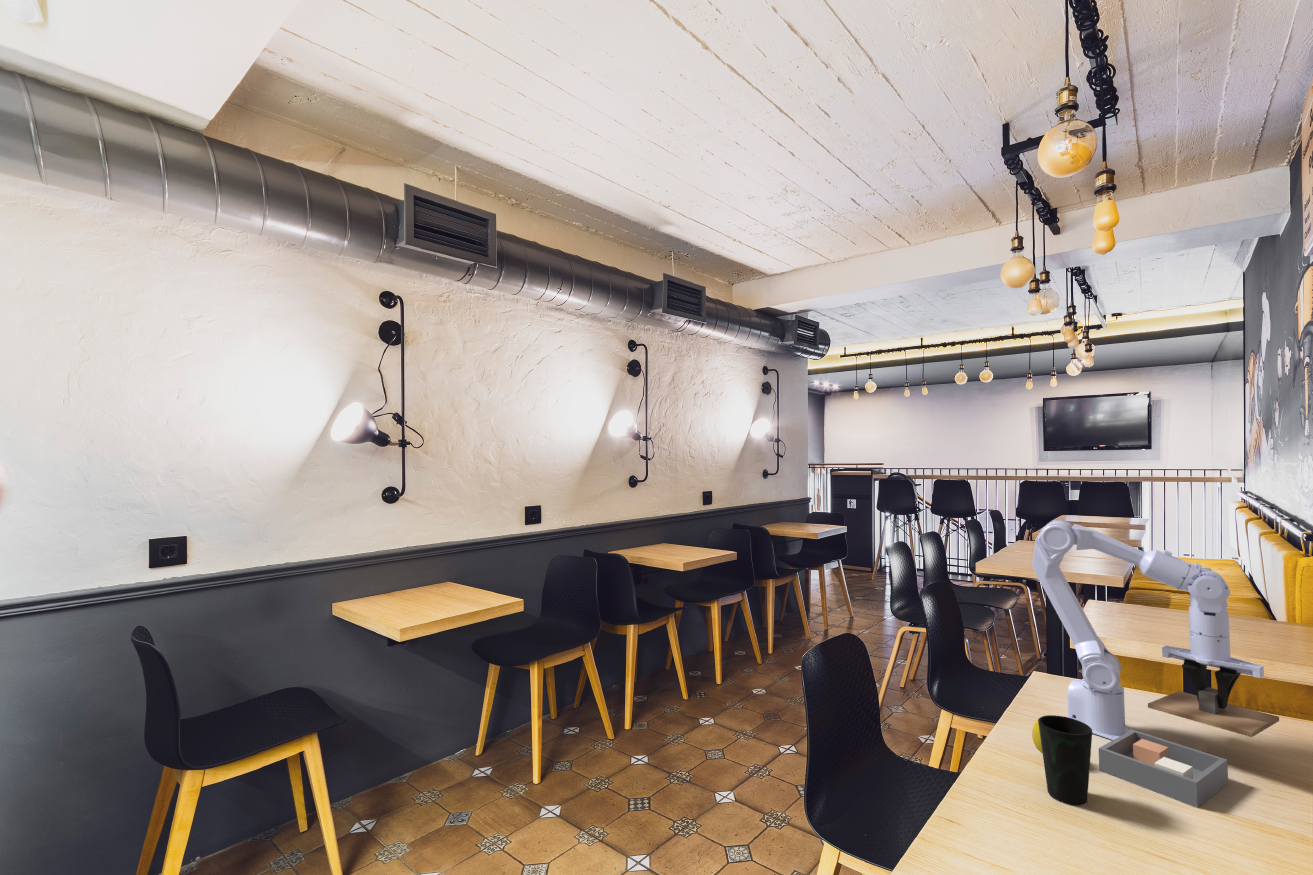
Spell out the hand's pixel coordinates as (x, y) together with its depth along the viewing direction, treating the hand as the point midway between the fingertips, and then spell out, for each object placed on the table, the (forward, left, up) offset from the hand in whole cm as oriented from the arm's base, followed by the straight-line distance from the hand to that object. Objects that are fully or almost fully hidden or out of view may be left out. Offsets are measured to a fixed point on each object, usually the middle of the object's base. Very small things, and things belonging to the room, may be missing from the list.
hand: (1212, 704), depth 116 cm
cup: (-8, -39, -10) cm, 41 cm away
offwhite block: (0, -21, -9) cm, 22 cm away
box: (-2, -18, -10) cm, 20 cm away
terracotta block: (-5, -16, -9) cm, 18 cm away
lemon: (-16, -28, -10) cm, 34 cm away
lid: (0, 0, -2) cm, 2 cm away
